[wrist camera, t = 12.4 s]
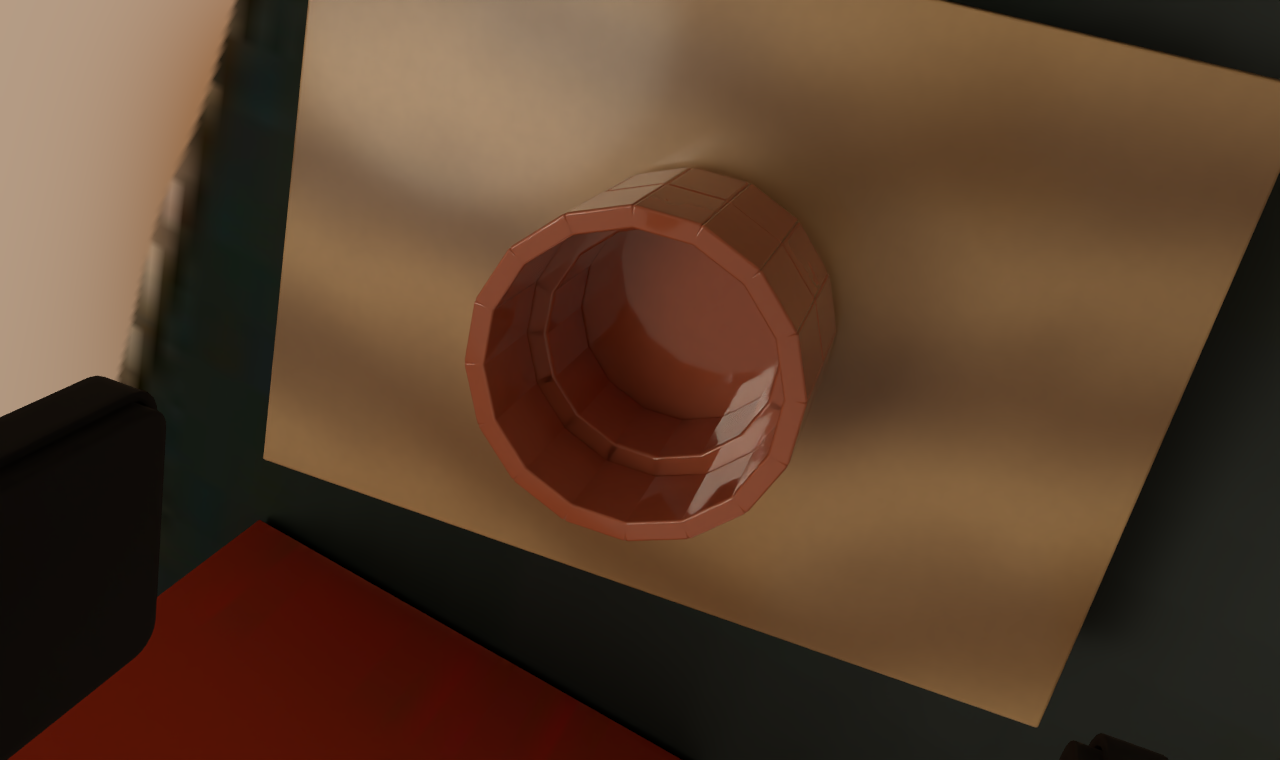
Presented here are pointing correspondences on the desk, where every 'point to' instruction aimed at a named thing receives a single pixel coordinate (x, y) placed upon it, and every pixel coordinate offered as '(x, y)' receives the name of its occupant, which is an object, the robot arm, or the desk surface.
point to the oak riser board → (859, 276)
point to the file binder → (318, 678)
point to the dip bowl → (653, 354)
